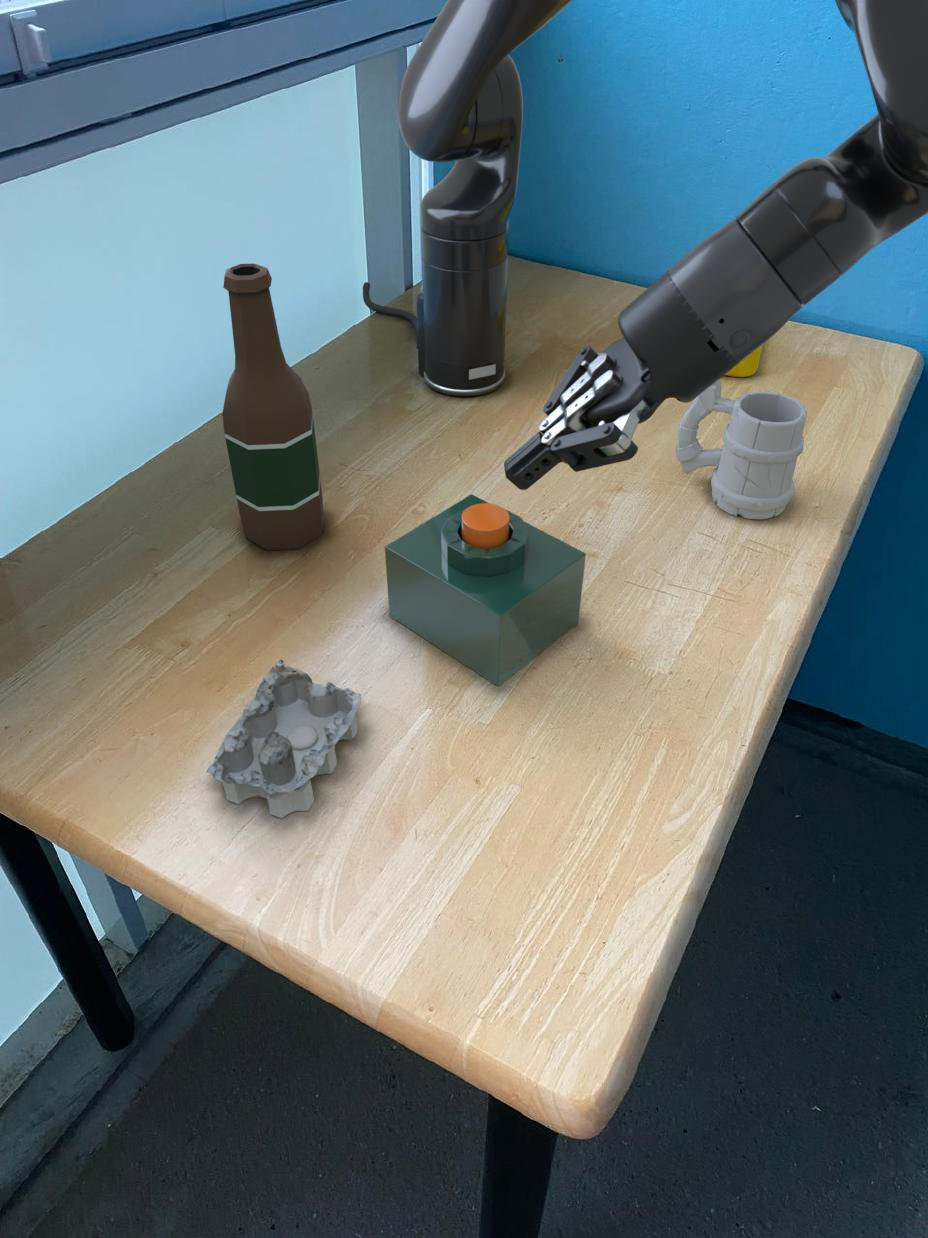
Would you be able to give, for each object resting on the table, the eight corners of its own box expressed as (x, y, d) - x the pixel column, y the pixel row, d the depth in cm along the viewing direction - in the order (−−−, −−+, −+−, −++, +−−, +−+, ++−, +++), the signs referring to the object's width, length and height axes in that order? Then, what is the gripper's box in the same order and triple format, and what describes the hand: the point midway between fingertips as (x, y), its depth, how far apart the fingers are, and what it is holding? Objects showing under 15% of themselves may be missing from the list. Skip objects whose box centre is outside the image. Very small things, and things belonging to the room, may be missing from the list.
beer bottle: (258, 562, 82) (209, 297, 66) (231, 517, 87) (181, 260, 72) (340, 538, 85) (312, 277, 69) (310, 496, 90) (278, 244, 74)
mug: (779, 530, 86) (811, 414, 78) (656, 497, 90) (675, 383, 82) (798, 489, 91) (830, 376, 83) (681, 459, 95) (701, 349, 87)
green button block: (389, 616, 77) (383, 527, 71) (470, 561, 82) (471, 475, 76) (498, 687, 71) (501, 596, 65) (578, 623, 76) (588, 534, 70)
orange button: (451, 535, 71) (451, 517, 70) (483, 516, 73) (483, 497, 72) (487, 555, 69) (487, 536, 68) (518, 534, 71) (519, 515, 70)
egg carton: (287, 692, 71) (281, 652, 68) (375, 722, 68) (372, 682, 65) (202, 794, 63) (191, 754, 60) (297, 832, 61) (290, 793, 58)
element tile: (761, 327, 119) (769, 290, 116) (755, 380, 108) (764, 341, 105) (643, 314, 122) (648, 277, 119) (626, 364, 111) (631, 325, 108)
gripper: (653, 234, 63) (471, 401, 71) (698, 316, 53) (481, 500, 61) (717, 309, 67) (537, 460, 74) (769, 398, 57) (556, 562, 65)
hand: (512, 478), depth 68 cm, fingers closed
